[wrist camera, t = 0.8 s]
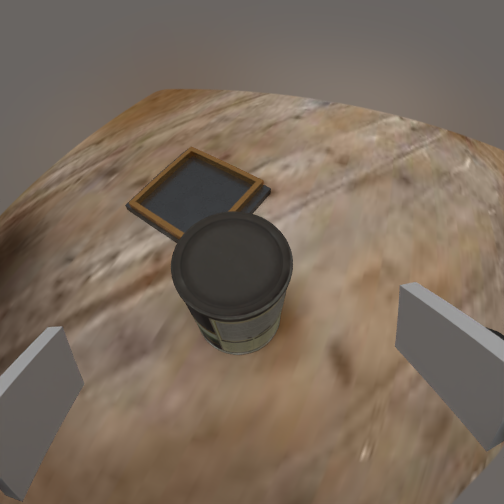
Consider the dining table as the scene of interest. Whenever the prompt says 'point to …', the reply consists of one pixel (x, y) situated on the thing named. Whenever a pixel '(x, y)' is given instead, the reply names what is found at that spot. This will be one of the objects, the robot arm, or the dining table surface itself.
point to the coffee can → (233, 279)
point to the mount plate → (195, 193)
